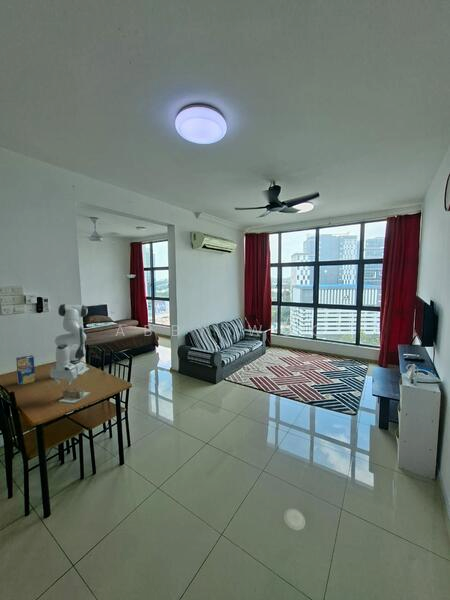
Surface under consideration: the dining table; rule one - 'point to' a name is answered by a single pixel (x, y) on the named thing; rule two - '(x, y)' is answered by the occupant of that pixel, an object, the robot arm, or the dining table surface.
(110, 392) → the dining table surface
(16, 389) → the dining table surface
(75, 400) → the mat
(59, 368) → the robot arm
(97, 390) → the dining table surface
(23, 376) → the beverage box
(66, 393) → the block
